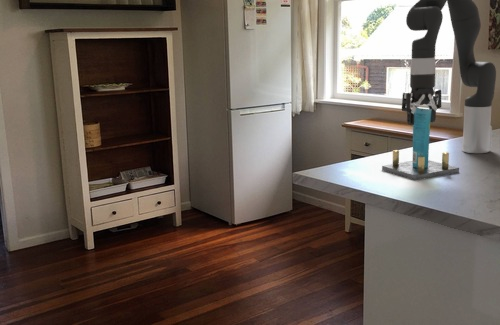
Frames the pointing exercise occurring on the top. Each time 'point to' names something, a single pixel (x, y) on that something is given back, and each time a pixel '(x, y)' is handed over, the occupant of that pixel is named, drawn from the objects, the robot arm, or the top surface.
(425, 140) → the tube
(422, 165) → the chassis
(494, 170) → the top surface
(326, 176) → the top surface
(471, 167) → the top surface
